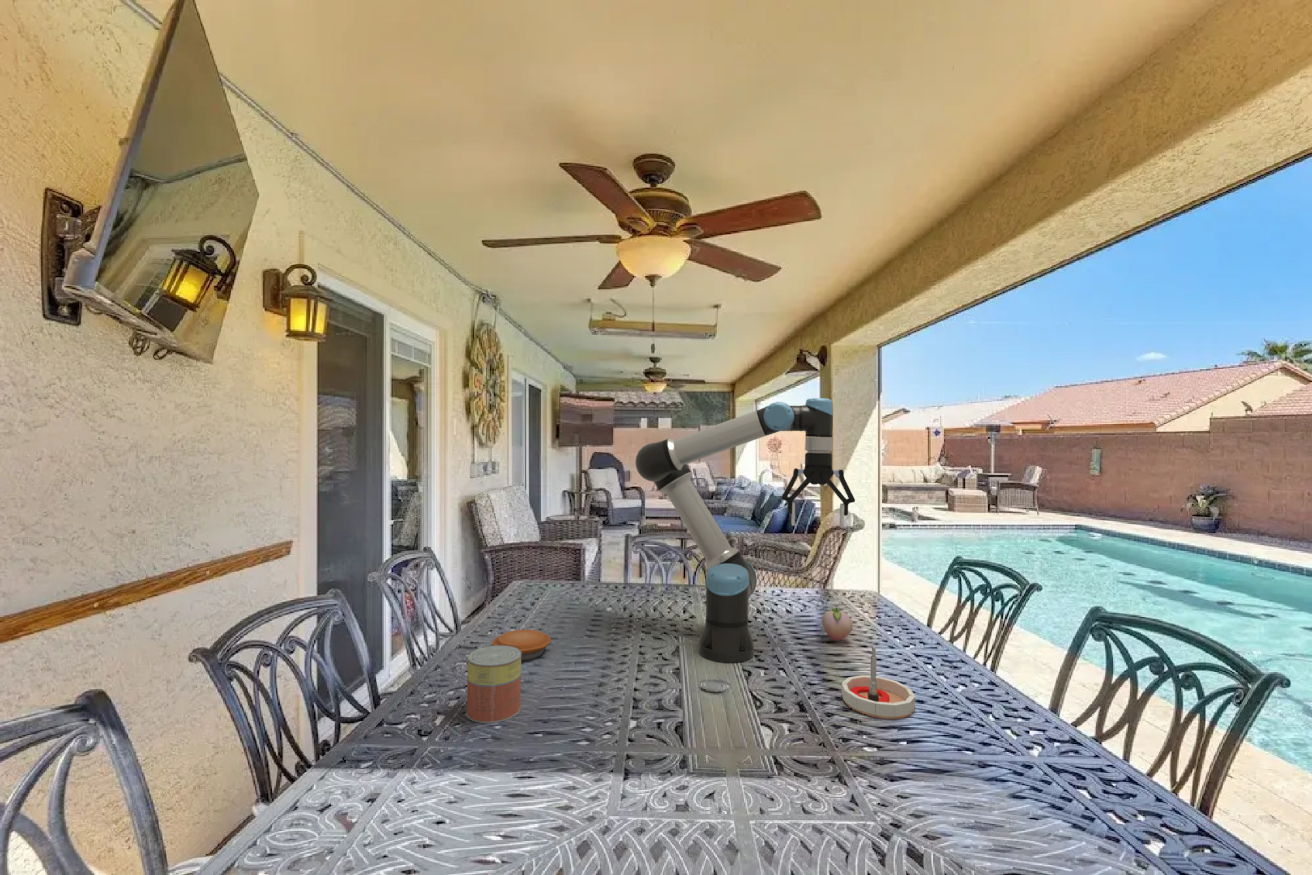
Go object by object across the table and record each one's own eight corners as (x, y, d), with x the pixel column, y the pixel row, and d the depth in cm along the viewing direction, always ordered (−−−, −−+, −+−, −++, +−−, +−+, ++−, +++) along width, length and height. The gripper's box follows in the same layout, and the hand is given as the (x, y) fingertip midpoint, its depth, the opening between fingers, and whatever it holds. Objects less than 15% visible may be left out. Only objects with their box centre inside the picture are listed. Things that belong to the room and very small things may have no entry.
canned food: (504, 693, 132) (504, 641, 132) (530, 711, 124) (531, 655, 124) (457, 709, 124) (457, 653, 124) (482, 729, 116) (483, 669, 116)
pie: (479, 659, 153) (479, 640, 153) (515, 640, 167) (515, 623, 167) (528, 668, 147) (528, 649, 147) (561, 648, 161) (561, 630, 161)
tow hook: (848, 689, 137) (853, 705, 128) (848, 634, 137) (854, 646, 128) (885, 693, 135) (893, 709, 126) (886, 637, 136) (894, 649, 126)
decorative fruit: (856, 647, 165) (857, 612, 165) (827, 646, 166) (828, 611, 166) (846, 635, 175) (846, 603, 175) (819, 635, 175) (819, 602, 175)
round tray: (848, 715, 124) (848, 701, 124) (838, 686, 139) (838, 673, 139) (922, 722, 122) (922, 707, 122) (903, 691, 136) (903, 678, 136)
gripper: (861, 452, 167) (860, 525, 167) (773, 451, 171) (772, 522, 171) (866, 453, 160) (865, 529, 160) (774, 451, 164) (773, 525, 164)
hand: (817, 526), depth 166 cm, fingers open, 13 cm apart
